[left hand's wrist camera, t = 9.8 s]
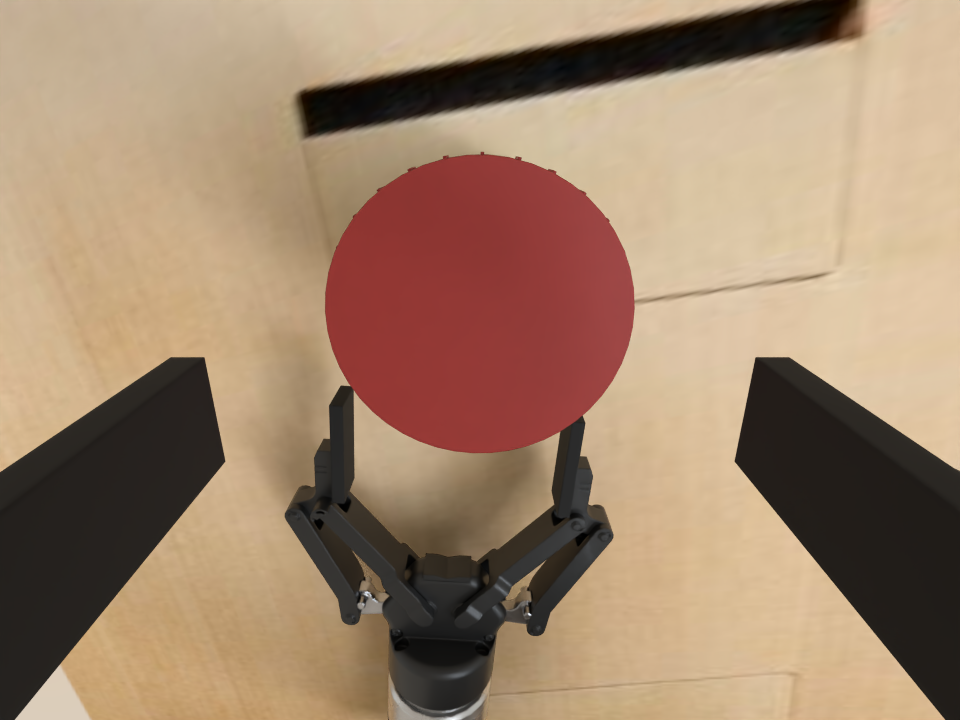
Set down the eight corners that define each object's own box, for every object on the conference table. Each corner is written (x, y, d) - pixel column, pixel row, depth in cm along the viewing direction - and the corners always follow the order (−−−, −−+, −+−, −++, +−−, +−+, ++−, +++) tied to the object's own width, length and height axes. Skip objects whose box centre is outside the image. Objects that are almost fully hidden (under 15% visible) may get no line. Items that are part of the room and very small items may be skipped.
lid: (289, 343, 22) (271, 362, 20) (431, 85, 18) (426, 78, 16) (516, 471, 24) (519, 499, 22) (681, 262, 20) (701, 274, 19)
